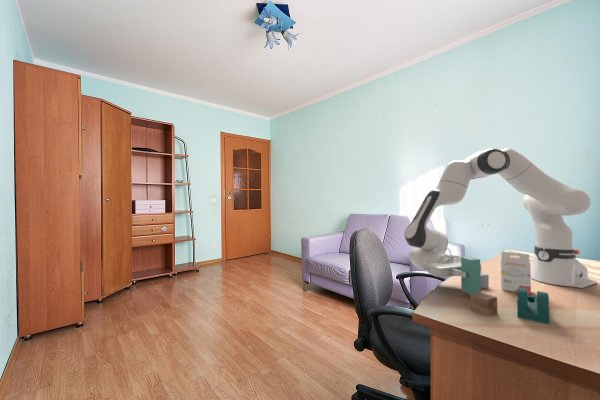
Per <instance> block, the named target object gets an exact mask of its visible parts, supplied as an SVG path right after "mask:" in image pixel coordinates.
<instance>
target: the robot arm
mask: <svg viewBox="0 0 600 400" xmlns="http://www.w3.org/2000/svg"><path fill="white" fill-rule="evenodd" d="M496 174H498V175H499V176H501V177H502V178H503V179H504V180H505V181H506V182H507V183H509V185H511V186H512V187H513V188H514V189H515V190H516V191H518V192H519V193H521V194H524V197H523V199H522V205H523V207H524V208H525V209H526V210H527V211H528V213H529V214H530V216H531V219H532V222H533V224H534V225H533V226H534V229H535V231H534V232H535V246H534V249H533V251H534V255H535V256H532V257H531V263H530V272H531V279H533V280H535V281H537V282H540V283H541V282H542V283H545V284H549V285H556V286H562V287H573V288H579V289H583V288H587V287H590V286H592V285H594V284H597V280H595V279H594V278H589V276H588V275H589V273H588V268H587V266H585V265H584V264H583V263H582V262H580V261H579V260H578V259H577V258H576V257H577V256H576V255H580V249H574V248H573V229H571V228H570V227H569V226H568V225H567V224H566V223H565V221H564V219H563V216H565V217H566V216H567V217H568V216H575V215H581V214H583V213H585V212H587V211H588V210H589V209H590V206H591V203H592V202H591V198H590V196H589V194H587V193H586V192H585V191H584V190H580V189H578V188H573V187H572V186H569V185H567V184H564V183H563V182H561V181H559V180H557V179H555V178H553V177H551V176H549V175H548V174H547V173H545V172H543V170H541V169H540V168H539V167H538V166H536V165H535V164H534V163H533V162H532V161H530V160H529V159H528V158H527V157H525V156H524V155H523V154H522V153H519V152H518V151H516V150H514V149H512V148H503V149H500V148H499V149H498V148H487V149H485V150H482V151H478V152H475V153H473V154H472V155H470V156H467V157H465V158H464V159H463V160H452V161H450V162H449V163H448V164H447V166H446V167H445V169H444V171H443V173H442V174H441V177H440V179H439V182H438V183H437V186H436V188H434V189H433V190H430V191H429V192H428V193H427V195H426V196H425V198H424V199H423V201H422V203H421V204H420V206H419V208H418V210H417V212H416V214H415V216H414V217H413V219H412V221H411V222H410V223H409V224H408V226H407V227H406V229H405V231H404V238H405V241H406V243H407V244H408V245H409V246H411V247H414V248H413V249H411V250H410V251H409V255H408V256H409V257H408V259H409V260H410V262H411V264H412V265H414V266H415V267H417V268H418V269H421V270H423V271H426V272H427V273H428V274H430V275H432V276H433V277H435V278H449V277H468V272H465V271H461V257H462V256H461V255H455V254H453V255H451V254H446V251H447V249H448V245H449V244H448V243H449V241H448V237H447V235H446V234H445V233H443V232H441V231H438V230H436V229H433V228H430V227H429V226H428V225H427V224H428V223H429V221H430V219H431V217H432V215H433V214H434V212H435V210H436V209H438V207H440V206H452V205H455V204H456V205H457V204H458V203H461V202H462V201H463V199H464V197H465V196H466V194H467V190H468V187H469V184H470V182H471V180H476V179H481V178H487V177H489V176H492V175H496ZM481 273H482V264H481V263H480V275H481Z"/></svg>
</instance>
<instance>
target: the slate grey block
mask: <svg viewBox="0 0 600 400" xmlns="http://www.w3.org/2000/svg"><path fill="white" fill-rule="evenodd" d="M489 276H490V275H489V274H486V273H484V272H481V275H480V289H486V288H489V287H490V286H489V279H490V277H489Z"/></svg>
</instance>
